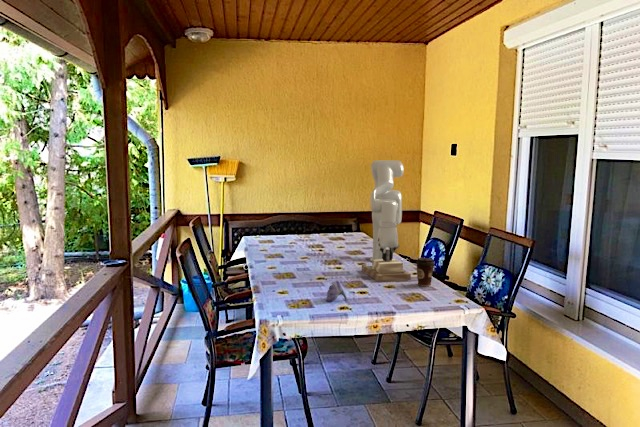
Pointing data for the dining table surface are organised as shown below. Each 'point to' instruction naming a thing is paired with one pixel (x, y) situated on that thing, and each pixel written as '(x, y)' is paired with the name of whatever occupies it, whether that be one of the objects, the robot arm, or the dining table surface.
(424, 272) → the coffee cup
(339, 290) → the grey arched piece
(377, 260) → the square knob plate
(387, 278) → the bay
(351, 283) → the dining table surface
